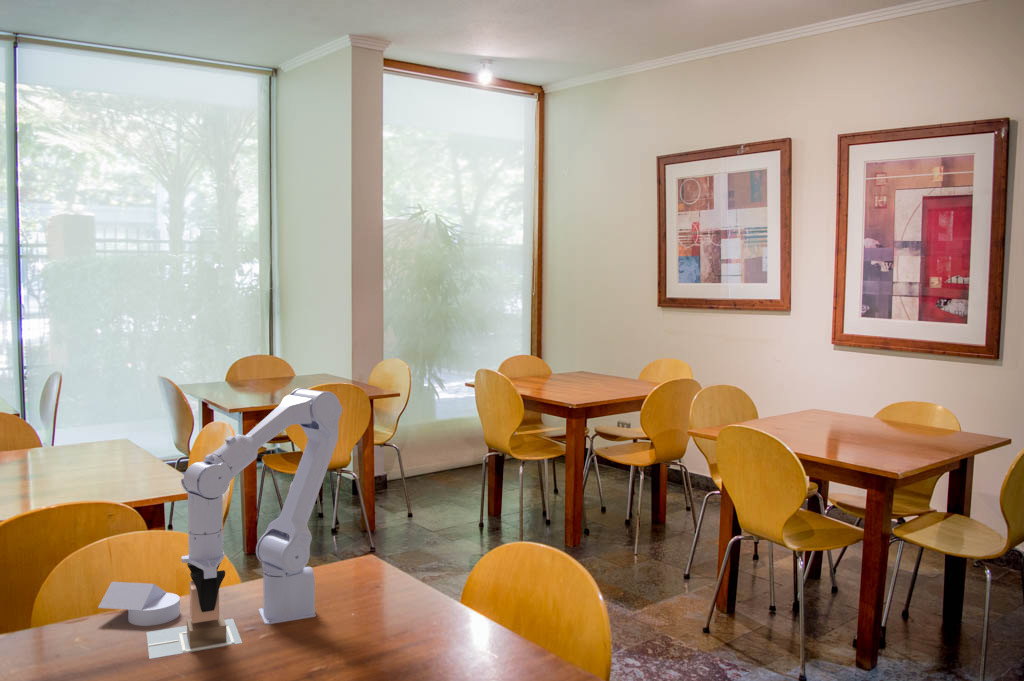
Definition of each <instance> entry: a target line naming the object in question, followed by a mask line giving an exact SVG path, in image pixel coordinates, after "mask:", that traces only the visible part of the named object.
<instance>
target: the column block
mask: <svg viewBox="0 0 1024 681" xmlns="http://www.w3.org/2000/svg"><path fill="white" fill-rule="evenodd" d="M219 614H220V590H219V591H218V596H217V601H216V606H215V609H214V611H207V612H202V611H201V608H200V604H199V598H198V592H197V588H196V586H195V584H194V582H193V580H190V581H189V615H190V618H191V620H192V623H198V622H204V621H211V620H217V619H219Z"/></svg>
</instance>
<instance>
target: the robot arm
mask: <svg viewBox="0 0 1024 681" xmlns="http://www.w3.org/2000/svg"><path fill="white" fill-rule="evenodd" d="M342 414H343V406H342V404H341V402H340V400H339V398H338V397H337V395H336V394H335V393H333V392H332V391H327V390H326V391H322V390H314V389H308V388H306V387H305V388H304V387H298V388H296V389H293V390H292V391H291V392H290V394H287V395H286V396H284V397H283V398H282V400H281V402H280V403H279V405H278V406H277V407H275V408H274V409H273V410H272V411H271V412H270V413H268V415H267V416H265V417H264V418H263V419H262V420H261V421H260V422H258V424H256V425H255V426H254V427H253V428H252V429H251V430H249V432H247V433H246V434H245V435H244V434H236V435H233V436H232V435H229V436H228V437H226V439H224V440H225V443H224V444H222V445H221V446H220V447H219V448H217V449H216V450H215V451H214V452H212V453H208V454H206V456H204V459H203V461H199V462H198V461H196V462H194V463H192V464H190V465H189V466H188V468H187V469H186V470H185V472H184V474H183V477H182V478H181V479H180V483H181V486H182V488H183V490H184V491H185V492H186V494H187V508H188V509H187V510H188V512H187V514H188V516H187V517H188V518H187V520H188V521H187V523H188V524H187V525H188V527H187V528H188V529H187V530H188V531H187V532H188V537H187V538H188V554H187V555H182V556H181V557H180V558H181V560H180V561H181V563H184V564H185V563H186V565H187V568H188V569H189V571H190V574H189V575H190V578H191V581H193V582H194V584H195V586H196V588H197V592H198V598H199V604H200V608H201V611H202V612H207V611H214V609H215V606H216V601H217V596H218V591H219V592H220V587H221V585H222V583H223V581H224V579H225V577H226V570H223V569H221V570H218V569H219V567H220V566H221V564H222V561H223V560H224V559H225V552H224V535H223V534H224V524H223V523H224V522H223V521H224V519H223V518H224V516H223V514H224V513H223V512H224V511H223V510H224V507H223V506H224V504H223V500H224V498H223V495H224V494H225V493H227V491H228V489H229V486H230V482H231V481H232V479H234V477H236V476H238V474H239V473H240V472H242V471H243V470H244V469H245V468H247V467H248V466H249V465H251V463H253V462H254V461H255V460H256V459H257V457H258V454H259V453H258V452H259V449H260V448H261V447H263V446H264V445H265V444H267V443H269V442H270V441H271V440H272V439H274V438H276V437H277V436H278V435H279V434H280V433H282V432H283V431H285V430H286V429H287V428H290V426H293V425H299V427H301V428H302V430H303V432H304V434H305V436H306V438H307V441H306V444H305V448H304V449H303V450H304V451H303V453H302V456H301V458H300V461H299V463H298V467H297V469H296V471H295V474H294V476H293V480H292V482H291V485H290V487H289V490H288V493H287V496H286V498H285V500H284V504H283V507H282V509H281V511H280V515H279V516H277V518H275V519H274V520H272V521H271V522H270V523H269V524H268V526H267V528H266V531H265V532H264V533H263V535H261V536H260V537H259V539H258V541H257V543H256V546H255V554H256V557H257V559H258V560H259V562H261V568H262V569H263V570H262V571H263V572H262V573H263V576H262V577H263V579H262V580H263V584H262V586H263V588H262V590H263V591H262V592H263V594H262V595H263V598H262V600H263V604H262V605H263V607H260V608H258V613H259V615H260V617H261V619H262V621H263V623H264V625H267V626H268V625H273V624H274V625H275V624H280V623H286V622H291V621H297V620H302V619H303V620H304V619H310V618H315V617H316V616H317V615H316V596H315V595H316V582H315V580H316V579H315V574H314V569H313V568H312V566H306V565H307V564H308V563H309V560H310V555H311V552H310V551H311V550H310V547H311V542H312V539H313V537H312V533H311V530H310V529H309V527H308V524H309V520H310V518H311V516H312V512H313V510H314V508H315V504H316V501H317V499H318V497H319V493H320V490H321V487H322V485H323V482H324V479H325V477H326V474H327V471H328V469H329V466H330V463H331V460H332V457H333V454H334V452H335V448H336V447H337V446H336V445H337V443H338V440H339V421H340V418H341V416H342Z"/></svg>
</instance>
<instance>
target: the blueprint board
mask: <svg viewBox="0 0 1024 681" xmlns="http://www.w3.org/2000/svg"><path fill="white" fill-rule="evenodd" d="M224 621H225V623H226V642H224V643H218V644H212V645H206V646H201V647H195V648H190V646H189V642H188V637H187V625H184V626H183V625H182V626H176V627H171V628H164V629H157V630H151V631H146V632H145V633H146V640H147V648H148V649H147V651H148V658H149V660H152V659H158V658H163V657H170V656H174V655H175V656H176V655H181V654H187V653H193V652H199V651H203V650H204V651H206V650H209V649H217V648H223V647H229V646H233V645H240V644H243V640H242V639H241V635H240V633H239V630H238V628H237V626H236V623H235V620H234V618H227V619H224Z"/></svg>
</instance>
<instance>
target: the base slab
mask: <svg viewBox="0 0 1024 681" xmlns="http://www.w3.org/2000/svg"><path fill="white" fill-rule="evenodd" d="M224 620H225V618H224V616H223V613H219V619H217V620H211V621H204V622H198V623H192V620H191V617H190V618H186V626H187V637H188V642H189V646H190V648H195V647H201V646H206V645H212V644H218V643H224V642H226V623H225V621H224Z"/></svg>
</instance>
